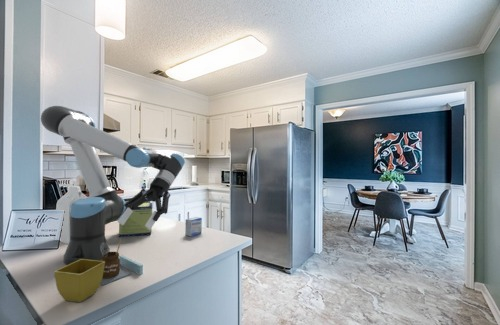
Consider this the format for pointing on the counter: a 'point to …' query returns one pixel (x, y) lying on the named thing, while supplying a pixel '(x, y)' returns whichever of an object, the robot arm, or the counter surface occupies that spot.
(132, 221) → the protein box
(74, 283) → the flower pot
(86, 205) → the robot arm
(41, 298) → the counter surface
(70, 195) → the milk
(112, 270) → the utensil holder
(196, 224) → the medicine box
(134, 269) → the acrylic wall
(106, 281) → the slate pad
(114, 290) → the counter surface
